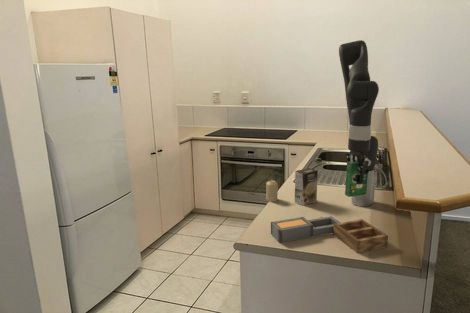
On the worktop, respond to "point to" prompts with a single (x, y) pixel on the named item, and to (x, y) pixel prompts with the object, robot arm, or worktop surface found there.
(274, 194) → the candle
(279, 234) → the stand
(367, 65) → the robot arm
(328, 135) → the worktop surface
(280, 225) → the key
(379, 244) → the walnut rack
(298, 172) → the coffee box
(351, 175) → the coffee box
